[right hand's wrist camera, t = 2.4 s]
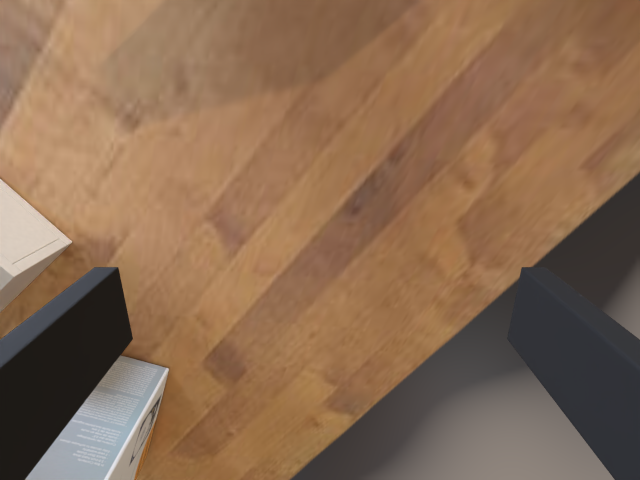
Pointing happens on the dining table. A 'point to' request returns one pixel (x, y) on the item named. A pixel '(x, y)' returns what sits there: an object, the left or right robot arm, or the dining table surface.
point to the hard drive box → (108, 427)
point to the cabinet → (24, 244)
